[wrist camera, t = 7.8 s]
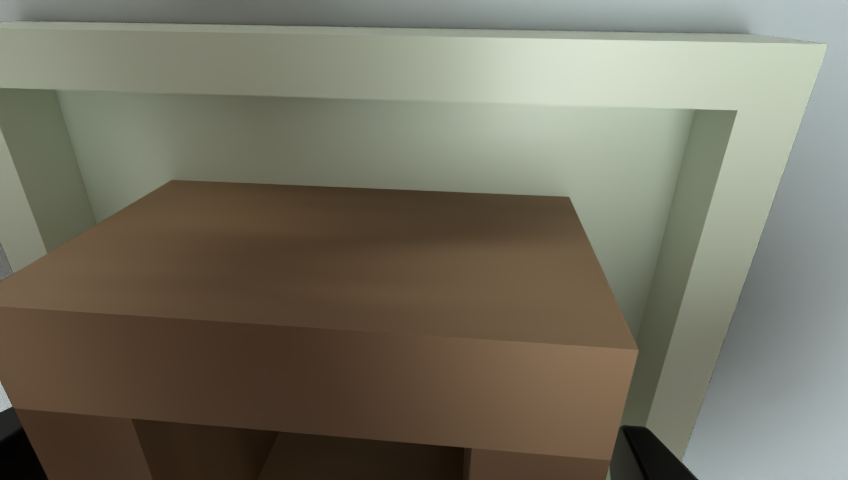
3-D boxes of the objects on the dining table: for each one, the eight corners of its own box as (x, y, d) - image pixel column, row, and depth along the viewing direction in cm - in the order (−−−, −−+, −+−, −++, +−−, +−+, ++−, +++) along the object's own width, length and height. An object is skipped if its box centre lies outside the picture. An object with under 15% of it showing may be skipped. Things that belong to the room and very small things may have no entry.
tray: (609, 533, 13) (629, 611, 11) (171, 489, 14) (129, 553, 12) (752, 33, 7) (828, 44, 6) (18, 21, 8) (-90, 26, 7)
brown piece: (569, 197, 8) (639, 349, 5) (520, 522, 12) (538, 744, 8) (171, 179, 9) (-38, 303, 5) (244, 494, 13) (151, 691, 9)
